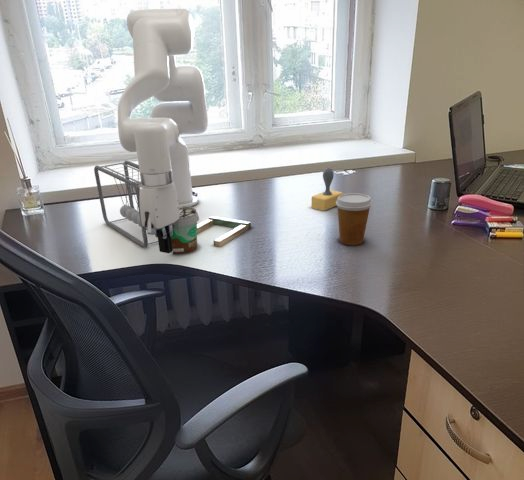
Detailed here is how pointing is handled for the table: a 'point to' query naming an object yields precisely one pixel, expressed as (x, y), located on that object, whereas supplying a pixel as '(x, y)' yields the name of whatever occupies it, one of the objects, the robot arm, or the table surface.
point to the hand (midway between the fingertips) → (166, 251)
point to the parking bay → (237, 224)
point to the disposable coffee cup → (353, 217)
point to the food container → (185, 231)
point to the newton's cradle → (126, 210)
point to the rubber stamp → (326, 193)
